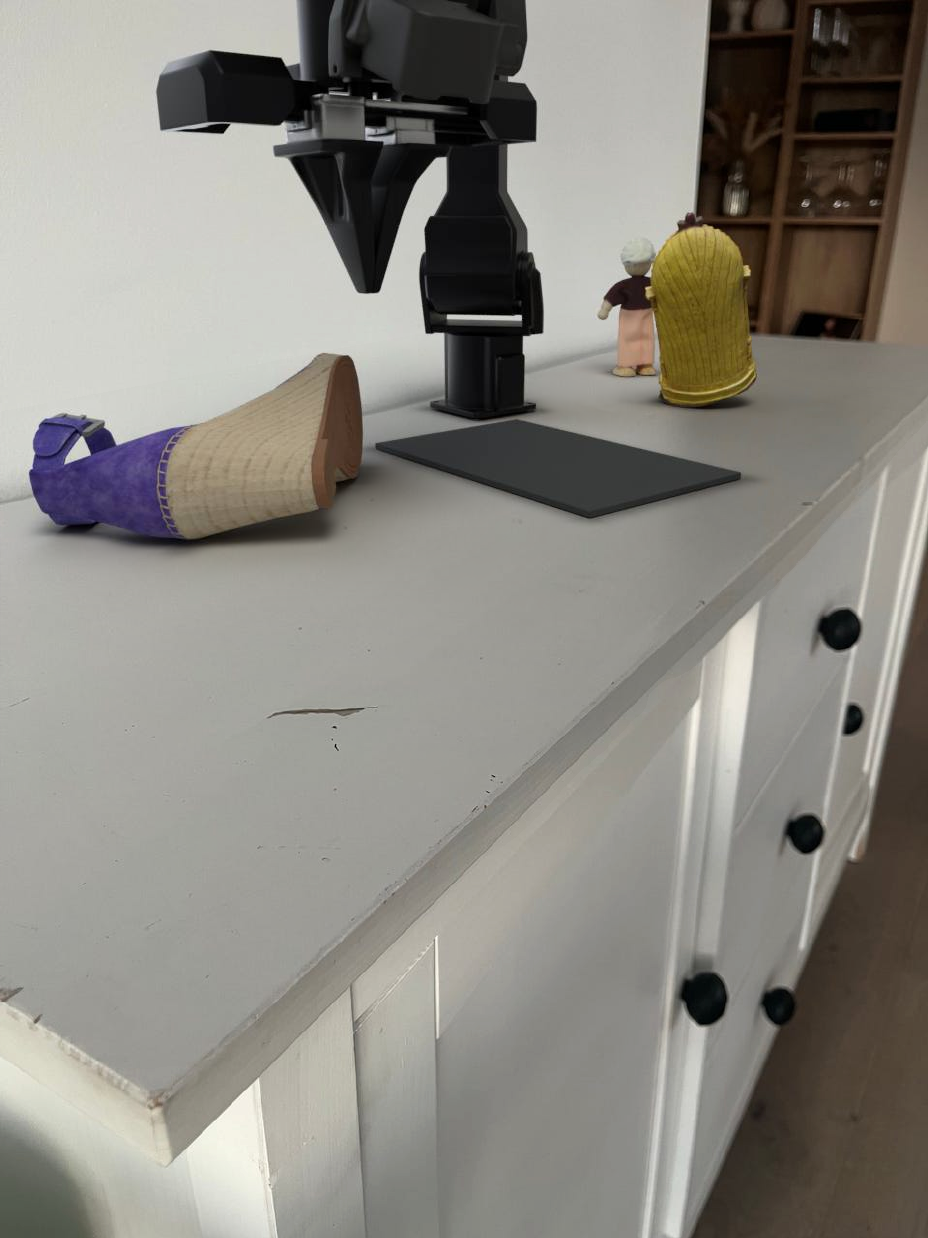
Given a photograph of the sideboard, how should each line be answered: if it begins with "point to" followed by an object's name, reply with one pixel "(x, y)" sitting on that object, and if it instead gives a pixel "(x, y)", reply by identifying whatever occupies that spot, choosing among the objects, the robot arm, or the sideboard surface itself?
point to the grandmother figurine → (633, 311)
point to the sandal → (210, 461)
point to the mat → (559, 466)
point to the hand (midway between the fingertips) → (368, 292)
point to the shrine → (701, 316)
